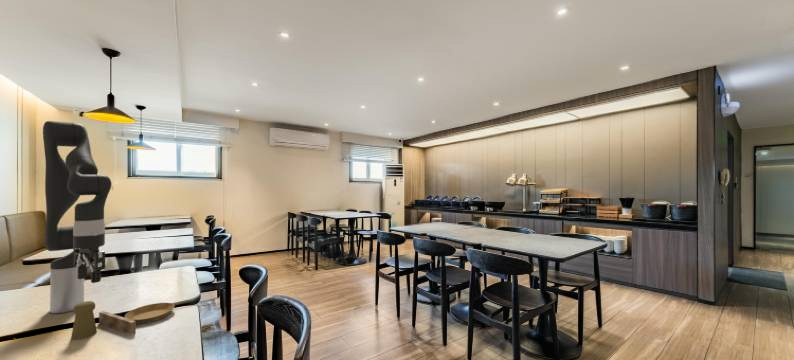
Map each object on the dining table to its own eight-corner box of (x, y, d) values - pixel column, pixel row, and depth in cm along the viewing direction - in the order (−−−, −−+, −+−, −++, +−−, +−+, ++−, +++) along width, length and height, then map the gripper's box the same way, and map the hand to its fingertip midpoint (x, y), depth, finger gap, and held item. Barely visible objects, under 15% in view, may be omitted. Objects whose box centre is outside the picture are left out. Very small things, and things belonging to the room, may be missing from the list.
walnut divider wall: (99, 323, 109) (99, 312, 109) (103, 321, 110) (103, 310, 110) (131, 334, 102) (131, 322, 102) (135, 332, 103) (135, 321, 103)
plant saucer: (162, 324, 109) (162, 317, 109) (114, 328, 106) (114, 321, 106) (181, 307, 124) (181, 301, 124) (139, 310, 120) (139, 304, 120)
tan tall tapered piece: (80, 340, 98) (80, 307, 97) (65, 338, 99) (66, 305, 99) (101, 331, 103) (101, 299, 103) (88, 329, 105) (88, 298, 105)
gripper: (63, 233, 101) (62, 280, 101) (85, 236, 96) (85, 287, 96) (92, 229, 108) (92, 274, 108) (115, 232, 103) (114, 280, 103)
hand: (89, 280), depth 102 cm, fingers open, 8 cm apart
